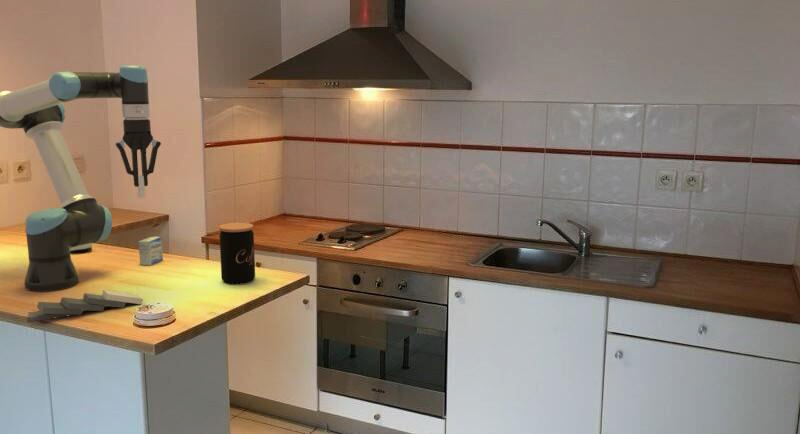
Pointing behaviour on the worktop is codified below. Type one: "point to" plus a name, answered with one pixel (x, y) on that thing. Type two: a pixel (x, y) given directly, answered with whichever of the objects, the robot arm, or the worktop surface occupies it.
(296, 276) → the worktop surface
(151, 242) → the medicine box
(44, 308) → the domino
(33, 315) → the domino
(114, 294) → the domino
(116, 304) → the domino
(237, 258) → the coffee jar
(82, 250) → the spread jar
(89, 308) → the domino
